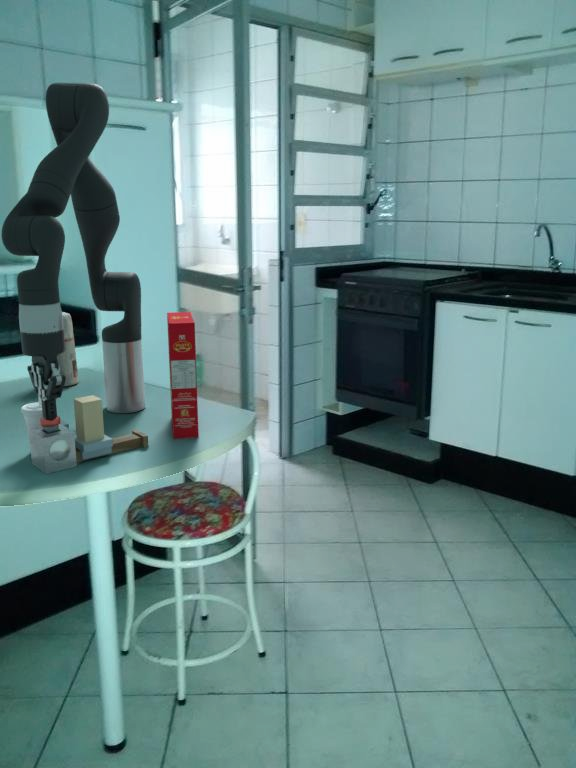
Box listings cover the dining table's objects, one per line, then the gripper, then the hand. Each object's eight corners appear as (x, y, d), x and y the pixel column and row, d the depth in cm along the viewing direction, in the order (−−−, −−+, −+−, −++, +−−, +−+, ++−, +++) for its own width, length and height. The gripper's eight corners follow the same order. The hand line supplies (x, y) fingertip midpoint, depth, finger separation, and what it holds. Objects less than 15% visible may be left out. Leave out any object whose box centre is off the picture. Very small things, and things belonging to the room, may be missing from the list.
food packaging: (171, 418, 161) (167, 312, 155) (194, 417, 162) (190, 312, 156) (173, 438, 147) (168, 323, 141) (198, 437, 148) (194, 322, 142)
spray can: (67, 388, 187) (61, 315, 182) (41, 386, 189) (35, 314, 184) (85, 381, 195) (79, 311, 190) (59, 379, 197) (53, 310, 192)
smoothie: (64, 451, 140) (58, 385, 136) (34, 459, 135) (27, 391, 132) (50, 444, 144) (44, 379, 140) (20, 451, 140) (13, 385, 136)
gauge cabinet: (32, 463, 133) (28, 429, 131) (62, 456, 137) (59, 422, 135) (46, 474, 128) (43, 438, 126) (77, 466, 132) (74, 432, 130)
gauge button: (40, 453, 132) (37, 417, 130) (58, 449, 134) (55, 414, 133) (47, 458, 129) (44, 422, 128) (66, 454, 132) (63, 418, 130)
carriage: (49, 443, 143) (44, 390, 140) (81, 436, 148) (77, 385, 145) (80, 463, 132) (75, 406, 129) (113, 455, 137) (109, 399, 134)
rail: (64, 457, 136) (63, 446, 136) (136, 440, 146) (136, 429, 146) (74, 464, 133) (73, 453, 132) (148, 446, 143) (147, 435, 142)
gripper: (76, 330, 123) (83, 422, 128) (47, 321, 133) (55, 407, 137) (35, 335, 118) (44, 430, 123) (8, 325, 128) (17, 414, 133)
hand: (50, 418), depth 130 cm, fingers closed
